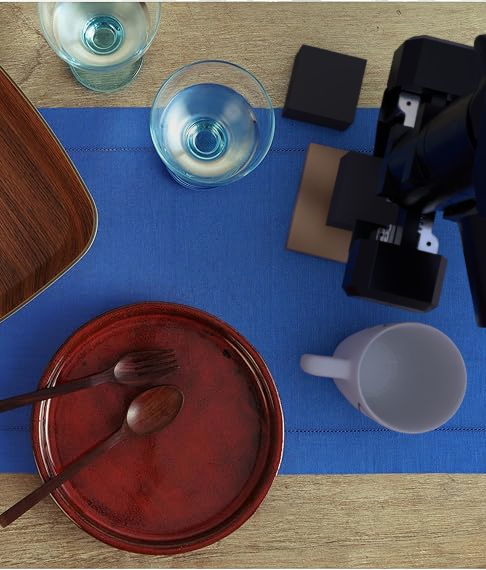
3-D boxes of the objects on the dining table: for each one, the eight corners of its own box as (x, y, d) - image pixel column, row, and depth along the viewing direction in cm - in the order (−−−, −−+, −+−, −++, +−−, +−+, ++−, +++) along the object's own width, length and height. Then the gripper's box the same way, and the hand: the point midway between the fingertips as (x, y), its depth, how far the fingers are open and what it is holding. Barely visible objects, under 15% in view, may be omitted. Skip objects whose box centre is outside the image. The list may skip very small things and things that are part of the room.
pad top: (295, 55, 58) (302, 43, 55) (357, 70, 58) (367, 59, 55) (281, 116, 57) (287, 107, 55) (343, 131, 57) (353, 123, 55)
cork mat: (307, 145, 57) (310, 141, 56) (412, 170, 57) (417, 167, 56) (284, 249, 57) (286, 248, 56) (389, 274, 57) (394, 274, 56)
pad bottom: (340, 157, 53) (350, 149, 50) (408, 174, 53) (421, 167, 50) (325, 225, 53) (334, 221, 50) (393, 241, 53) (406, 238, 50)
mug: (280, 404, 56) (311, 424, 46) (289, 312, 57) (322, 311, 47) (405, 418, 56) (463, 440, 46) (413, 325, 57) (472, 327, 47)
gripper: (573, 335, 36) (440, 328, 51) (636, 28, 37) (486, 113, 52) (386, 290, 36) (310, 297, 51) (454, -17, 37) (359, 82, 52)
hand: (370, 197), depth 52 cm, fingers closed on pad bottom, 6 cm apart
